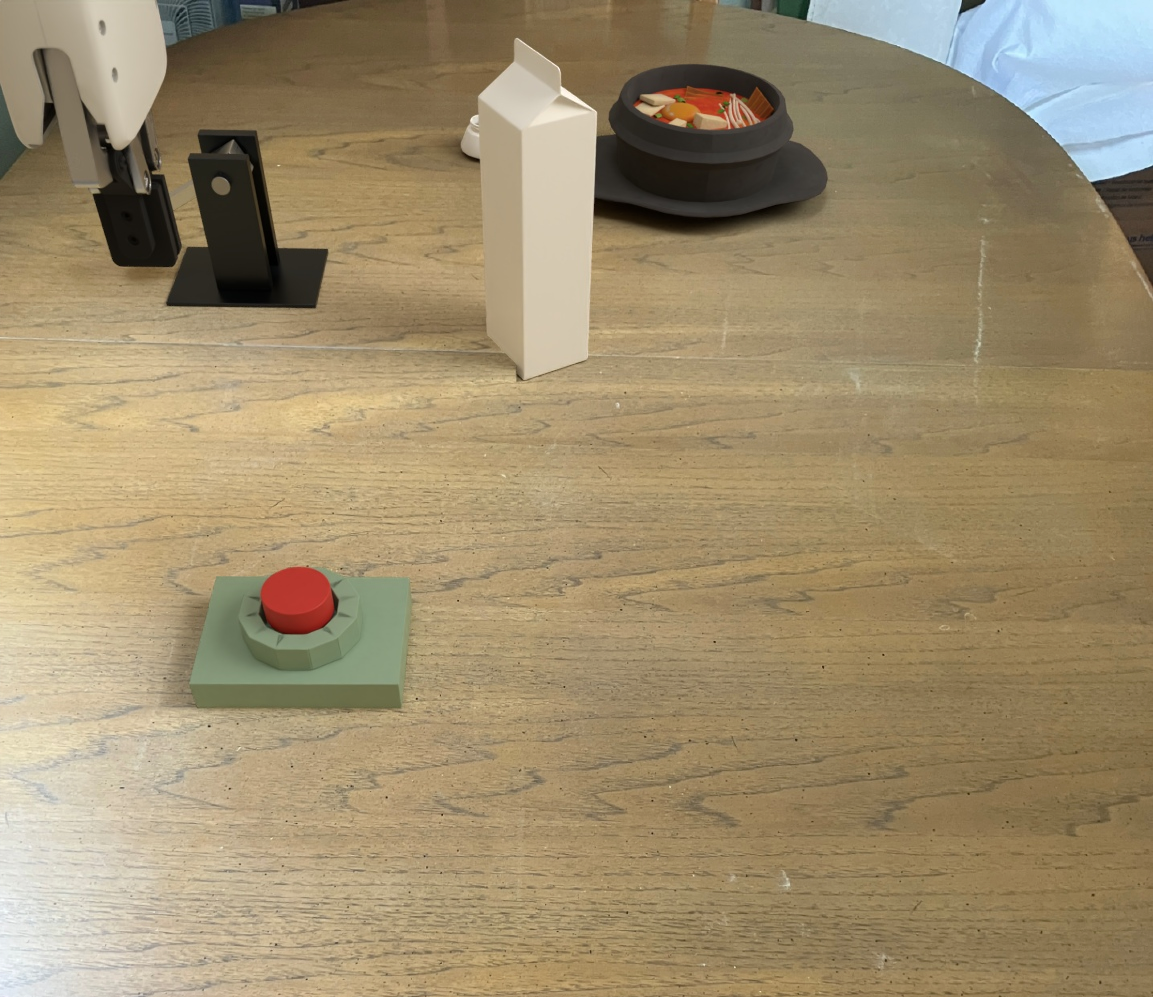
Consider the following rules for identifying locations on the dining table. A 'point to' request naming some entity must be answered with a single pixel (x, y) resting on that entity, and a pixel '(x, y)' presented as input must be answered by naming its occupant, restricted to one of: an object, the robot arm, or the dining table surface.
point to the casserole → (703, 145)
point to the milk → (537, 214)
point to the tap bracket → (241, 236)
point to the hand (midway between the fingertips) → (148, 258)
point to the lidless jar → (472, 138)
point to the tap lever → (187, 190)
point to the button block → (305, 648)
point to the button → (297, 600)
